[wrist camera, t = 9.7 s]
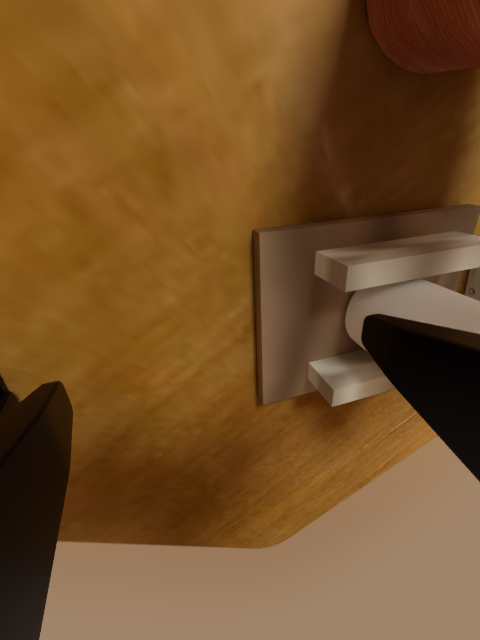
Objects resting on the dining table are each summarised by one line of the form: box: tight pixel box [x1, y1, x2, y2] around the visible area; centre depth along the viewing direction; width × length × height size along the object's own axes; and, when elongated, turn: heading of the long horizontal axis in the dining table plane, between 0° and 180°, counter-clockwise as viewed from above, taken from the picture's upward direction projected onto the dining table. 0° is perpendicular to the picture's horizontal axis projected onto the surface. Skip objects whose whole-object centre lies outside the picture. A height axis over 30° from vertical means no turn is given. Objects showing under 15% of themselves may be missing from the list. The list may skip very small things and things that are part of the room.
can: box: [345, 278, 480, 352], centre depth 19 cm, size 6×6×12 cm
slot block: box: [253, 204, 480, 407], centre depth 23 cm, size 18×14×5 cm
